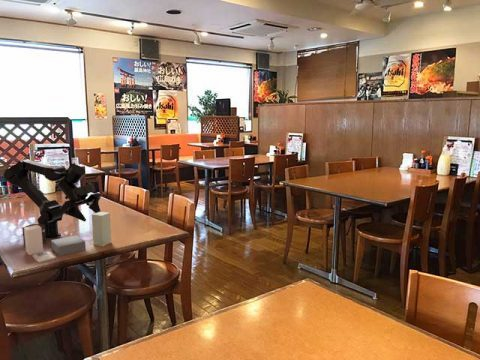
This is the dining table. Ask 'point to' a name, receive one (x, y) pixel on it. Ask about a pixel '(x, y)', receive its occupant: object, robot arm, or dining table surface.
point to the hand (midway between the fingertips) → (93, 218)
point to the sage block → (101, 228)
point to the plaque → (43, 257)
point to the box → (41, 229)
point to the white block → (33, 239)
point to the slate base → (68, 245)
